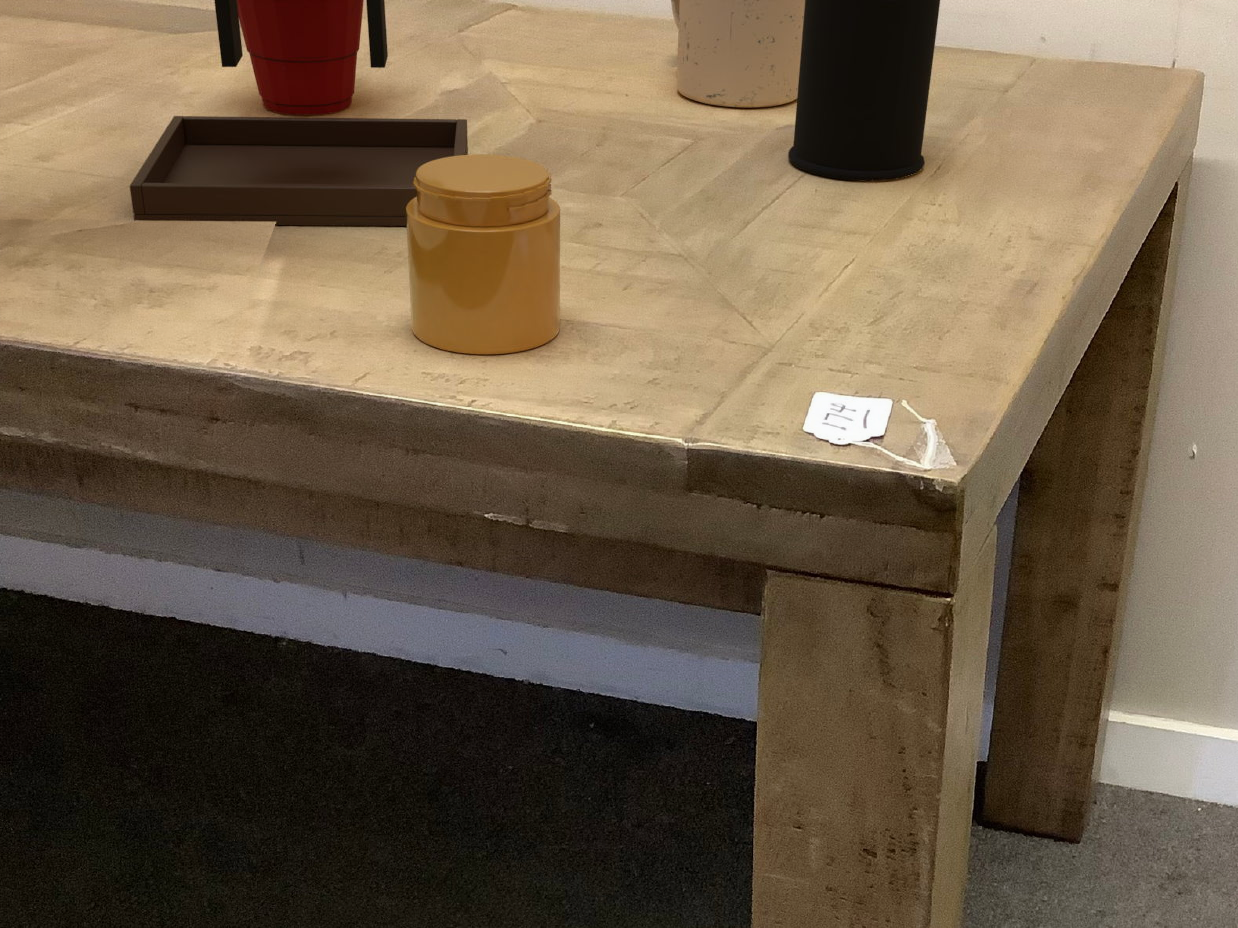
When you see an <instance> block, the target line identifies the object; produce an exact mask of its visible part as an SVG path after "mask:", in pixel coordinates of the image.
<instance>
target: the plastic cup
mask: <svg viewBox="0 0 1238 928" xmlns="http://www.w3.org/2000/svg"><path fill="white" fill-rule="evenodd" d="M237 6H238V16H239V25H240V29H241V32H242V36H243V40H244V44H245V48H246V51H247V53H248V54H249V57H250V62H251V66H252V71H253V74H254V79H255V83H256V87H257V92H258V95H259V96H260V97H261V100H262V101H261V102H262V106H264V108H265V109H266V110H269V111H271V112H274V113H278V114H283V115H284V114H285V115H291V116H319V115H320V116H321V115H327V114H332V113H338V112H342V111H345V110H347V109H349V108H351V105H352V102H353V95H354V93H355V87H356V86H355V85H356V73H357V62H358V61H357V60H358V52H359V50H360V44H361V32H362V23H363V12H364V0H237Z"/></svg>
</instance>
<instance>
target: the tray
mask: <svg viewBox="0 0 1238 928" xmlns="http://www.w3.org/2000/svg"><path fill="white" fill-rule="evenodd" d="M468 138H469V137H468V120H467V119H463V118H457V119H456V118H387V117H386V118H383V117H381V118H380V117H379V118H378V117H377V118H376V117H303V116H302V117H300V116H299V117H298V116H296V117H295V116H293V117H292V116H291V117H289V116H215V115H214V116H212V115H209V116H208V115H207V116H206V115H205V116H204V115H203V116H202V115H185V116H184V115H173V117H172V119H171V120H170V121H169V123H168V125H167V126H166V128H165V130H164V131H163V133H162V134H161V136H160V137H159V139H158V141H157V142H156V143H155V145H154V147H153V148H152V150H151V152H150V153H149V155H148V156H147V158H146V160H145V161H144V162H143V164H142V165H141V167H140V169H139V170H138V171H137V174H136V175H135V176H134V178H133V180H132V182H131V183H130V185H129V193H130V200H131V206H132V213H133V214H132V215H133V220H134V221H139V222H140V221H141V222H143V221H144V222H146V221H147V222H148V221H149V222H152V221H153V222H158V221H159V222H160V221H161V222H259V223H260V222H264V223H265V222H267V223H274V222H275V224H274V225H275V226H339V227H340V226H341V227H342V226H345V227H347V226H351V227H352V226H357V227H363V226H364V227H365V226H366V227H407V222H406V206H407V204H408V203H409V201H411V200H412V199H413V198H415V197H417V192H416V188H415V187H414V186H413V182H414V177H416V171H417V169H418V168H419V167H420V166H422V165H423V164H425V163H428V162H430V161H433V160H437V159H441V158H445V157H451V156H459V155H469V144H468V143H469V142H468Z"/></svg>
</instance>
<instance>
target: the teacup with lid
mask: <svg viewBox="0 0 1238 928" xmlns="http://www.w3.org/2000/svg"><path fill="white" fill-rule="evenodd" d="M670 3H671V11H672V15H673V19H674V23H675V25H676V28H677V30H678V37H677V56H676V57H677V60H676V62H677V63H676V89H677V91H678V92H679V93H680V94H681V95H682V96H684V97H685V98H687V99H689V100H692V101H695V102H697V103H702V104H706V105H713V106H719V107H727V108H767V107H768V108H769V107H774V106H781V105H786V104H788V103H791V102H793V101H795V100H797V95H798V83H799V70H800V58H801V46H802V33H803V21H804V9H805V0H670Z"/></svg>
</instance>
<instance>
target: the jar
mask: <svg viewBox="0 0 1238 928" xmlns="http://www.w3.org/2000/svg"><path fill="white" fill-rule="evenodd" d="M551 183H552V173H551V172H549V171H548V169H547V168H546V167H545V166H544V165H542V164H540V163H538V162H535V161H533V160H529V159H525V158H522V157H516V156H509V155H501V154H485V153H484V154H468V155H459V156H451V157H445V158H441V159H437V160H433V161H430V162H428V163H425V164H423V165H422V166H420V167H419V168H418V169H417V171H416V177H414V182H413V186H414V187H415V188H416V192H417V197H415V198H413V199H412V200H411V201H409V203H408V204H407V206H406V222H407V226H406V238H407V239H406V241H407V259H408V281H409V300H410V320H411V321H410V322H411V330H412V333H413V335H415V337H416V338H417V339H418V340H419V341H421V342H422V343H424V344H426V345H429V346H431V347H434V348H437V349H439V350H444V351H448V352H453V353H460V354H469V355H504V354H512V353H519V352H523V351H528V350H532V349H535V348H537V347H541V346H543V345H545V344H547V343H549V342H551V341H552V340H553V339H554V338H555V337H557V335H558V334H559V331H560V327H561V206H560V204H559V203H558V202H557V201H556V200H555V199H553V198H552V197H550V196H551V195H552V184H551Z"/></svg>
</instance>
